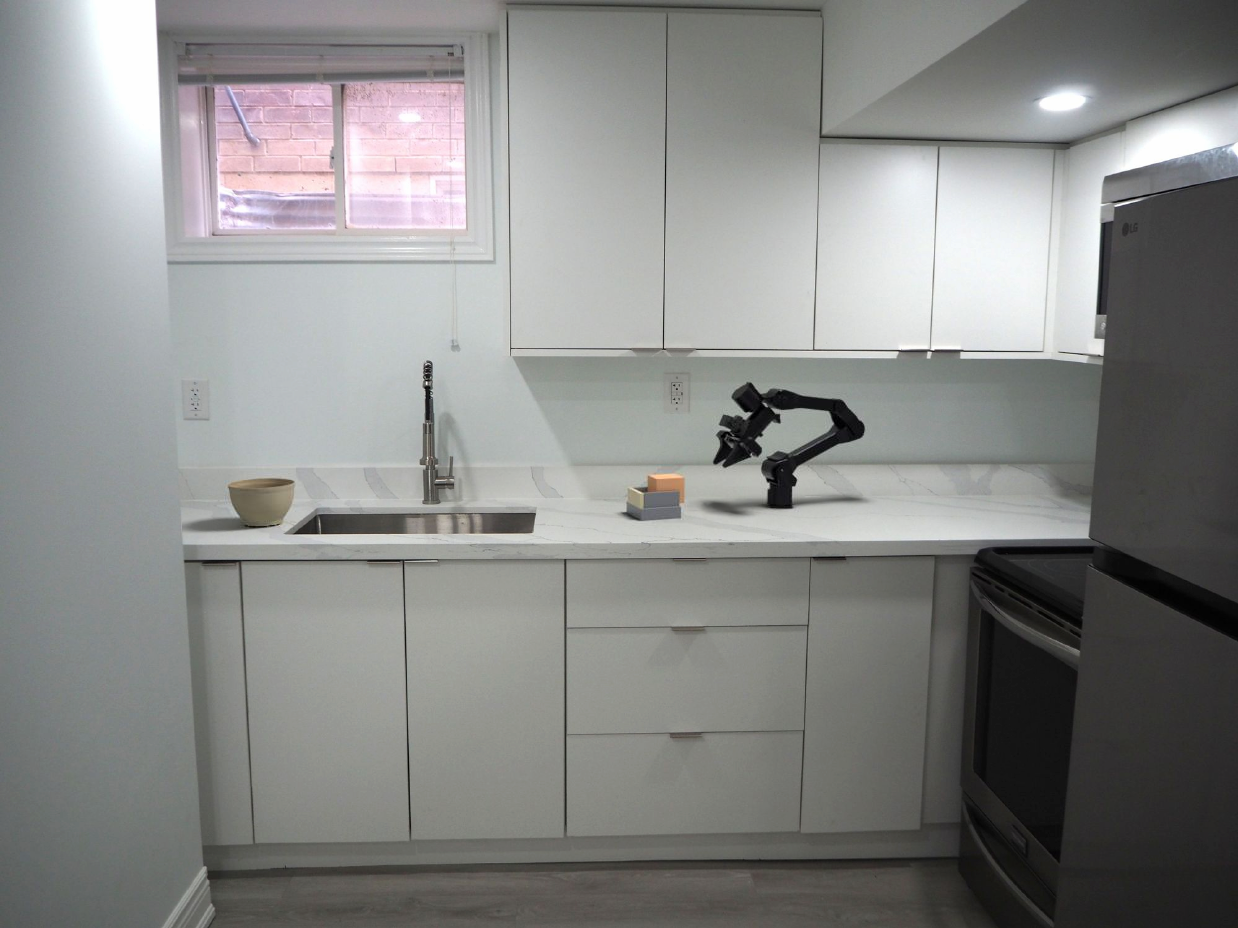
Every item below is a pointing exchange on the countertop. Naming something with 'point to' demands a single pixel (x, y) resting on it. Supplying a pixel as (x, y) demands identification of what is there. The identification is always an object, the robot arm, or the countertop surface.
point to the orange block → (667, 484)
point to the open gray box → (653, 504)
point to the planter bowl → (262, 500)
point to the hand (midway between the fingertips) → (718, 465)
